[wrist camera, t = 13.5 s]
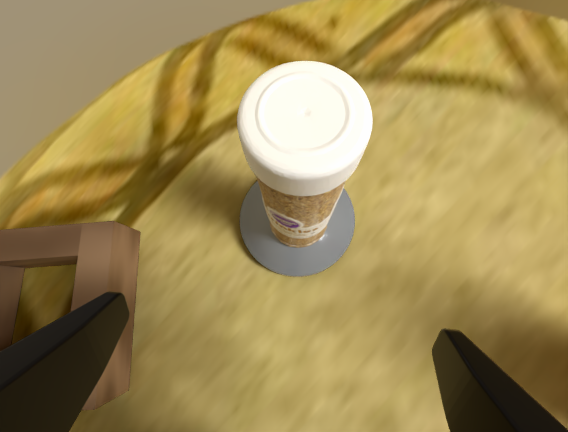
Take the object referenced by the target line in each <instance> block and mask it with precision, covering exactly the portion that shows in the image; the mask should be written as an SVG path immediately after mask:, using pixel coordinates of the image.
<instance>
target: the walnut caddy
mask: <svg viewBox="0 0 568 432" xmlns="http://www.w3.org/2000/svg"><path fill="white" fill-rule="evenodd" d="M139 243H140V232H139V231H137V230H134V229H132V228H130V227H127V226H125V225H122V224H120V223H118V222H115V221H107V222H95V223H82V224H69V225H57V226H44V227H31V228H19V229H6V230H0V351H2V350H4V349H6V348H7V347H9V346H11V342H12V336H13V331H14V325H15V320H16V314H17V309H18V303H19V298H20V292H21V287H22V281H23V276H24V270H25V268H32V267H45V266H58V265H71V264H77V267H76V275H75V282H74V290H73V298H72V305H71V311H73V310H75V309H77V308H79V307H80V306H82V305H84V304H86V303H87V302H89V301H91V300H93V299H95V298H96V297H98V296H100V295H102V294H104V293H105V292H108V291H113V292H121V293H123V294H124V296H125V299H126V302H127V305H128V308H129V311H130V316H129V320H128V322H127V324H126V327H125V329H124V331H123V333H122V335H121V337H120V339H119V341H118V343H117V346H116V348H115V350H114V352H113V354H112V356H111V358H110V360H109V363H108V365H107V367H106V368H105V370H104V372H103V374H102V376H101V378H100V379H99V381H98V383H97V385H96V386H95V388H94V390H93V391H92V393H91V395H90V396H89V398H88V400H87V402H86V403H85V405H84V407H83V408H82V410H94V409H97V408H98V407H100V406H102V405H104V404H105V403H107V402H109V401H111V400H113V399H114V398H116V397H118V396H120V395H121V394H123V393H125V392H127V391H128V390H129V382H130V368H131V354H132V340H133V326H134V312H135V299H136V285H137V271H138V257H139Z"/></svg>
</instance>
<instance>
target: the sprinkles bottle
mask: <svg viewBox="0 0 568 432" xmlns="http://www.w3.org/2000/svg"><path fill="white" fill-rule="evenodd" d="M237 127H238V133H239V137H240V141H241V145H242V148H243V151H244V154H245V157H246V160H247V162H248V164H249V166H250V168H251V170H252V171H253V172H254V174H255V175H256V177H257V180H258V183H259V186H260V190H261V193H262V200H263V203H264V206H265V210H266V213H267V216H268V218H269V221H270V227H271V230H272V232H273V234H274V235H275V237H276V238H277V239H279V240H280V241H281V242H282V243H283V244H285V245H287V246H289V247H296V248H301V247H307V246H310V245H312V244H314V243H315V242H317V241H318V240H319V239H320V238H321V237H322V236H323V234H324V232H325V230H326V228H327V224H328V222H329V220H330V218H331V216H332V214H333V211H334V209H335V207H336V204H337V202H338V200H339V198H340V195H341V193H342V191H343V187H344V184H345V181H346V180H347V179H348V178H349V177H350V176H351V175H352V173H353V172H354V171H355V169H356V167H357V166H358V164H359V162H360V160H361V157H362V155H363V153H364V151H365V148H366V146H367V144H368V141H369V138H370V135H371V130H372V111H371V107H370V103H369V101H368V98H367V96H366V94H365V92H364V91H363V89H362V88H361V87H360V85H359V84H358V83H357V82H356V81H355V80H354V79H353V78H352V77H351V76H349V75H348V74H347V73H345V72H343V71H342V70H340V69H338V68H336V67H334V66H331V65H328V64H325V63H321V62H315V61H295V62H290V63H286V64H282V65H279V66H277V67H274V68H272V69H270V70H268V71H267V72H265V73H263V74H262V75H261V76H260V77H258V78H257V79H256V80H255V81H254V82H253V83H252V84H251V85H250V87H249V88H248V89H247V91H246V92H245V94H244V96H243V98H242V100H241V103H240V106H239V110H238V116H237Z"/></svg>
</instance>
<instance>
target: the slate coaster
mask: <svg viewBox="0 0 568 432" xmlns="http://www.w3.org/2000/svg"><path fill="white" fill-rule="evenodd" d="M354 226H355V216H354V209H353V205H352V203H351V200H350V198H349V196H348V194H347V192H346V191H345V189H344V188H343V191H342V193H341V195H340V198H339V200H338V202H337V204H336V207H335V209H334V211H333V214H332V216H331V218H330V220H329V222H328V224H327V228H326V230H325V232H324V234H323V236H322V237H321V238H320V239H319V240H318V241H317V242H315V243H314V244H312V245H310V246H307V247H301V248H296V247H289V246H287V245H285V244H283V243H282V242H281V241H280V240H279V239H277V238H276V237H275V235H274V234H273V232H272V230H271V227H270V221H269V218H268V216H267V213H266V210H265V206H264V203H263V200H262V193H261V190H260V186H259V183H258V181H257V182H255V183H254V185H253V186H252V187H251V188H250V190H249V191H248V193H247V194H246V196H245V199H244V201H243V204H242V207H241V212H240V230H241V234H242V238H243V240H244V243H245V245H246V247H247V248H248V250H249V252H250V253H251V254H252V256H253V257H254V258H255V259H256V260H257V261H258V262H259V263H261V264H262V265H263V266H264V267H266V268H268V269H269V270H271V271H273V272H275V273H278V274H281V275H285V276H291V277H304V276H310V275H313V274H317V273H319V272H321V271H324V270H325V269H327V268H329V267H330V266H331V265H333V264H334V263H335V262H336V261H337V260H338V259H339V258H340V257H341V256H342V255H343V254H344V252H345V251H346V249H347V248H348V246H349V244H350V242H351V239H352V236H353V232H354Z"/></svg>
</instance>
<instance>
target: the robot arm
mask: <svg viewBox="0 0 568 432" xmlns="http://www.w3.org/2000/svg"><path fill="white" fill-rule="evenodd" d="M129 316H130V311H129V308H128V305H127V302H126V299H125V296H124V294H123V293H121V292H113V291H108V292H105V293H104V294H102V295H100V296H98V297H96V298H95V299H93V300H91V301H89V302H87V303H86V304H84V305H82V306H80V307H79V308H77V309H75V310H73V311H71V312H70V313H68V314H66V315H64V316H63V317H61V318H59V319H57V320H55V321H54V322H52V323H50V324H48V325H47V326H45V327H43V328H41V329H39V330H38V331H36V332H34V333H32V334H31V335H29V336H27V337H25V338H23V339H22V340H20V341H18V342H16V343H15V344H13V345H11V346H9V347H7V348H6V349H4V350H2V351H0V432H69V430H70V429H71V427H72V425H73V424H74V422H75V420H76V418H77V417H78V415H79V413H80V412H81V410H82V408H83V407H84V405H85V403H86V402H87V400H88V398H89V396H90V395H91V393H92V391H93V390H94V388H95V386H96V385H97V383H98V381H99V379H100V378H101V376H102V374H103V372H104V370H105V368H106V367H107V365H108V363H109V360H110V358H111V356H112V354H113V352H114V350H115V348H116V346H117V343H118V341H119V339H120V337H121V335H122V333H123V331H124V329H125V327H126V324H127V322H128V320H129ZM432 356H433V361H434V366H435V370H436V375H437V380H438V384H439V389H440V394H441V398H442V403H443V407H444V411H445V416H446V419H447V423H448V426H449V429H450V432H568V430H567V429H566V428H565V427H564V426H563V425H562V424H561V423H560V422H559V421H558V420H557V419H555V418H554V417H553V416H552V415H551V414H550V413H549V412H548V411H547V410H546V409H545V408H544V407H542V406H541V405H540V404H539V403H538V402H537V401H536V400H535V399H534V398H533V397H532V396H530V395H529V394H528V393H527V392H526V391H525V390H524V389H523V388H522V387H521V386H520V385H519V384H517V383H516V382H515V381H514V380H513V379H512V378H511V377H510V376H509V375H508V374H507V373H505V372H504V371H503V370H502V369H501V368H500V367H499V366H498V365H497V364H496V363H495V362H494V361H492V360H491V359H490V358H489V357H488V356H487V355H486V354H485V353H484V352H483V351H482V350H480V349H479V348H478V347H477V346H476V345H475V344H474V343H473V342H472V341H471V340H470V339H469V338H467V337H466V336H465V335H464V334H463V333H462V332H461V331H459V330H455V329H446V328H444V329H442V330H441V331H440V333H439V335H438V337H437V339H436V341H435V343H434V345H433V349H432Z"/></svg>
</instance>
